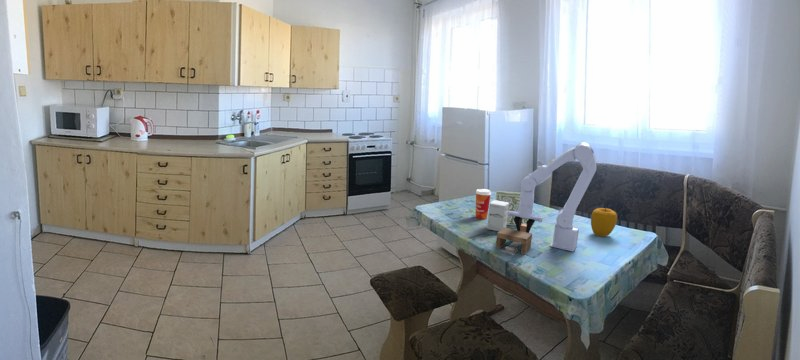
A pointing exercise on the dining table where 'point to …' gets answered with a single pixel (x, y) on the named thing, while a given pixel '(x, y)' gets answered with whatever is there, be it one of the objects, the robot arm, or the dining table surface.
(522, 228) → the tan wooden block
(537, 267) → the dining table surface
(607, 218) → the apple
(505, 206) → the supplement box
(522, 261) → the dining table surface
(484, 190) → the paper cup
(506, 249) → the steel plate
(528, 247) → the walnut shelf
